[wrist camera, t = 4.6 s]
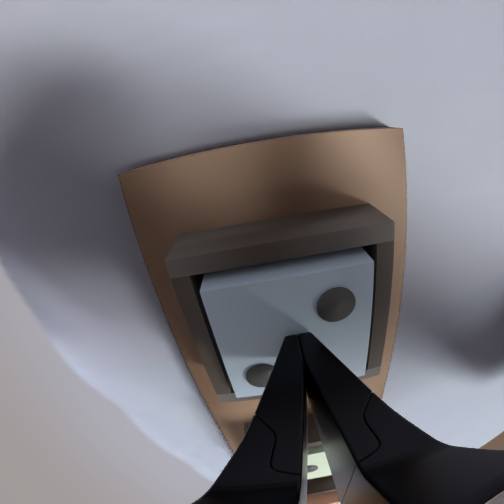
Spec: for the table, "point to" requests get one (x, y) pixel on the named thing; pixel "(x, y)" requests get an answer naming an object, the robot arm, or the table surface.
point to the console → (271, 239)
